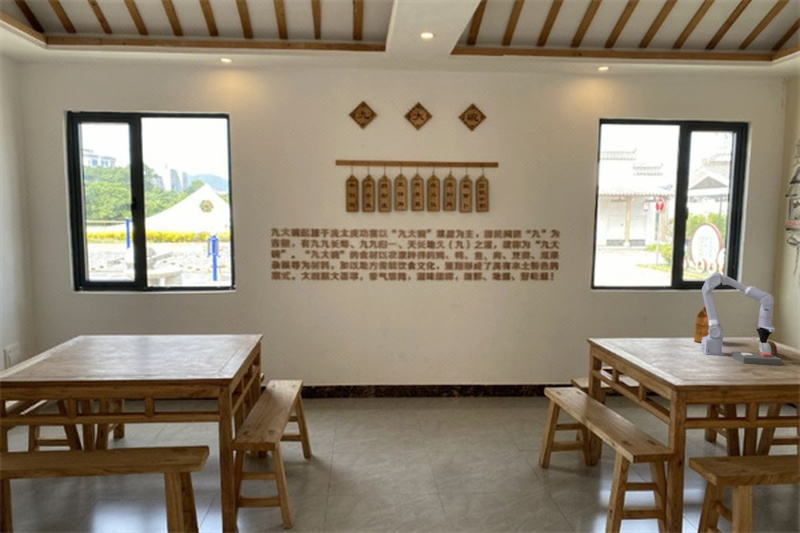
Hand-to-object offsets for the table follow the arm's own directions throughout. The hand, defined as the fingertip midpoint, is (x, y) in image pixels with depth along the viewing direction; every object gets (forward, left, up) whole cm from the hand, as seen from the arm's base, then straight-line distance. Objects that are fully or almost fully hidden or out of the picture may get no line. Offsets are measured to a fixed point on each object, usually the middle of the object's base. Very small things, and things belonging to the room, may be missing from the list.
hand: (763, 342), depth 267 cm
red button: (+1, -2, -9) cm, 9 cm away
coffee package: (-12, +37, -10) cm, 40 cm away
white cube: (-8, -2, -9) cm, 13 cm away
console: (-4, -2, -9) cm, 10 cm away
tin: (+9, +12, -10) cm, 18 cm away
